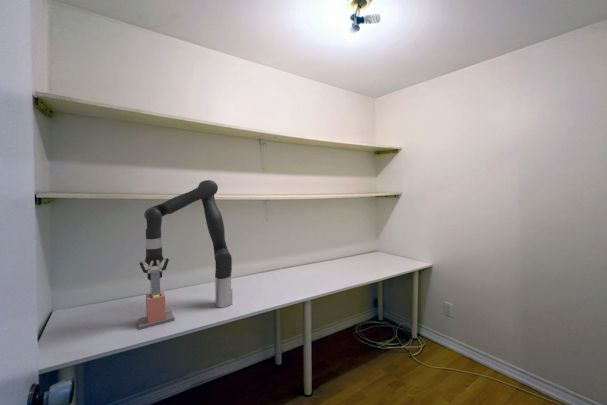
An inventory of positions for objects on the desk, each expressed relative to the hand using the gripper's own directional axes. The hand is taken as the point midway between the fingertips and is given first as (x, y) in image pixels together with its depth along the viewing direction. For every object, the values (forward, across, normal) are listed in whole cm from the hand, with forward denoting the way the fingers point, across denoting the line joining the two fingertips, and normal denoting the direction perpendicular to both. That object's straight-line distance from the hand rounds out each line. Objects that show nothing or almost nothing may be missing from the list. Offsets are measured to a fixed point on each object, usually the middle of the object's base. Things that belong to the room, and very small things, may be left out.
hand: (154, 279), depth 142 cm
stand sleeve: (+23, 0, 0) cm, 23 cm away
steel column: (+14, 0, 0) cm, 14 cm away
